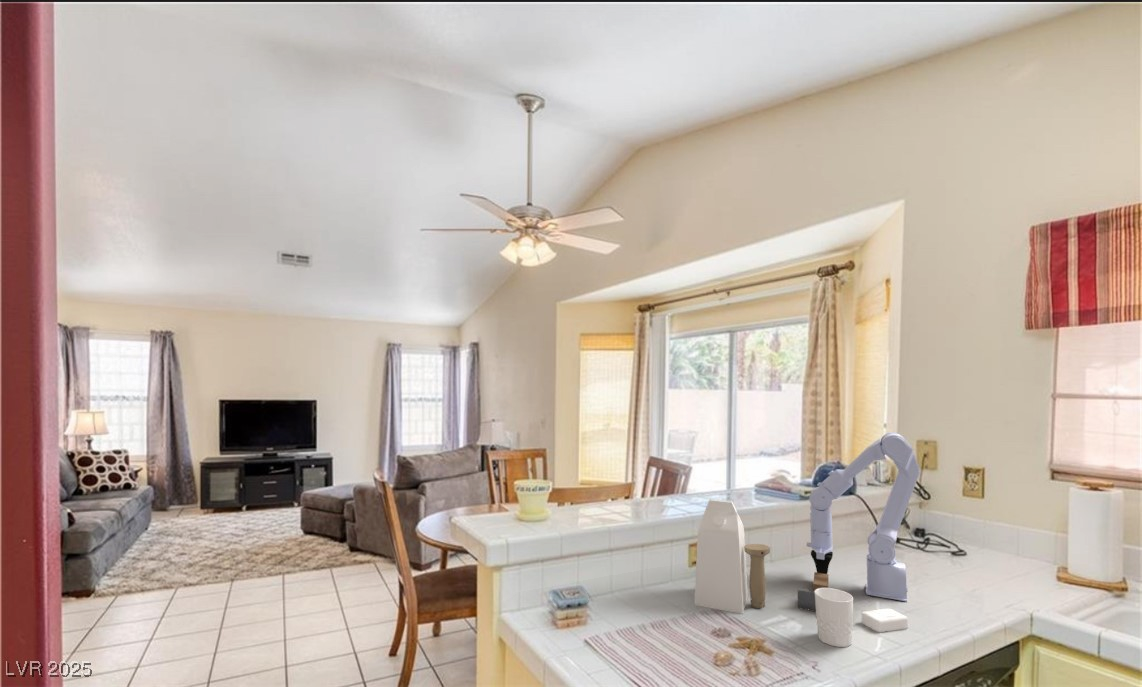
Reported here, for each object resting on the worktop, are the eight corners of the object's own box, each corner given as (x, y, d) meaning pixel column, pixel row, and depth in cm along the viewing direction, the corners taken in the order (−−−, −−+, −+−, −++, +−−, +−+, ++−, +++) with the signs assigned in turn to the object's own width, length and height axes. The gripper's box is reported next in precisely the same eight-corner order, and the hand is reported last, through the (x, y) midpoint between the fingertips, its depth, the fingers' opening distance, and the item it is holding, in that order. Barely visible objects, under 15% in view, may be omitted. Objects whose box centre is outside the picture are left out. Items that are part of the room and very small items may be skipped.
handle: (774, 609, 134) (773, 549, 135) (751, 611, 133) (751, 550, 134) (763, 601, 139) (762, 543, 140) (741, 603, 137) (741, 544, 138)
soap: (889, 619, 130) (889, 607, 130) (909, 629, 124) (909, 616, 125) (860, 623, 127) (859, 610, 128) (878, 634, 122) (878, 621, 122)
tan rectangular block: (814, 584, 151) (814, 572, 151) (828, 587, 150) (828, 574, 150) (813, 597, 142) (813, 584, 142) (828, 600, 141) (828, 586, 141)
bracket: (799, 598, 141) (799, 581, 141) (840, 606, 136) (839, 588, 137) (797, 607, 135) (797, 590, 135) (839, 616, 131) (839, 597, 131)
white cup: (808, 632, 122) (807, 587, 123) (840, 631, 123) (839, 587, 123) (827, 649, 114) (826, 602, 115) (862, 648, 115) (861, 601, 116)
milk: (747, 596, 142) (746, 498, 144) (742, 613, 131) (741, 508, 133) (702, 588, 147) (702, 494, 149) (694, 604, 136) (693, 502, 138)
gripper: (808, 522, 161) (809, 567, 161) (804, 534, 149) (805, 583, 148) (833, 525, 158) (834, 571, 157) (832, 537, 145) (833, 588, 144)
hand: (822, 577), depth 152 cm, fingers closed
